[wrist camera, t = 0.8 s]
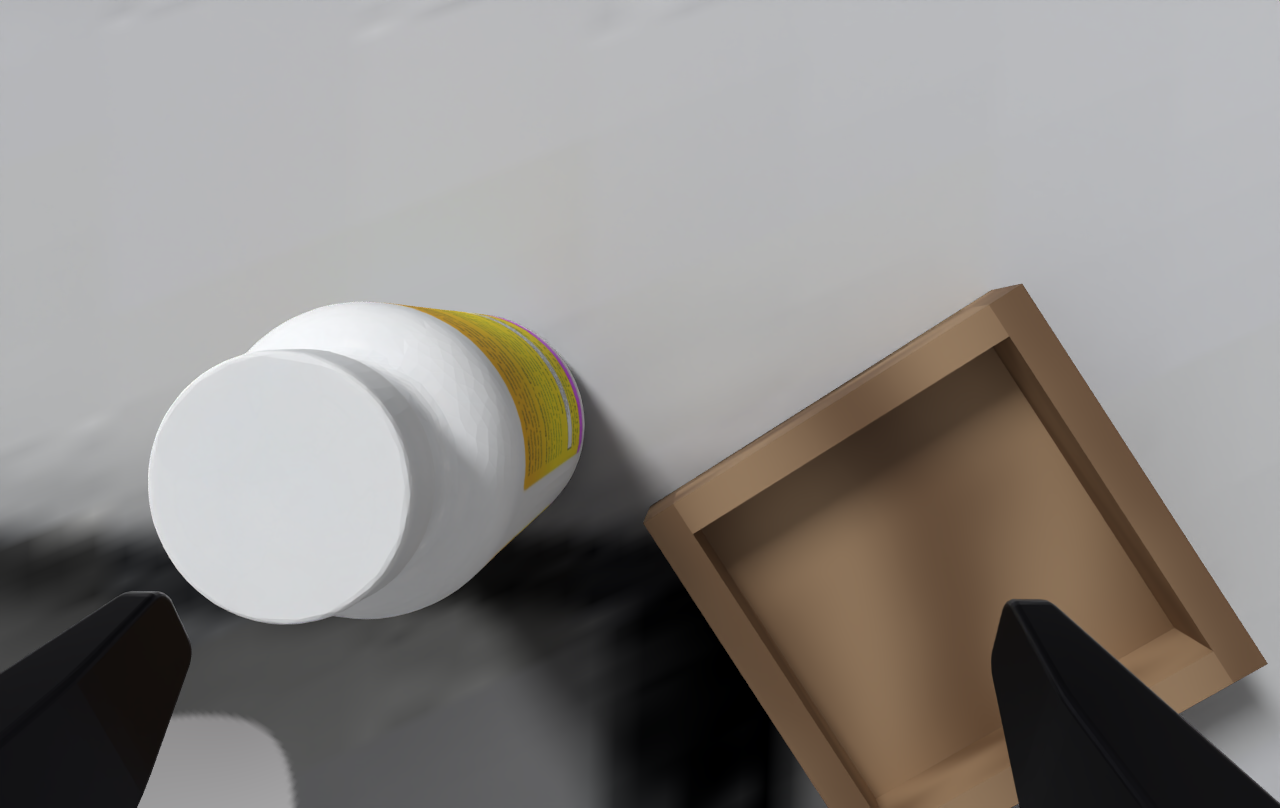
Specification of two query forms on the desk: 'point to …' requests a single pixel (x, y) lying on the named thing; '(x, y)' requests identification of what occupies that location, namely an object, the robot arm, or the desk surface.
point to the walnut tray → (939, 559)
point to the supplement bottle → (362, 460)
